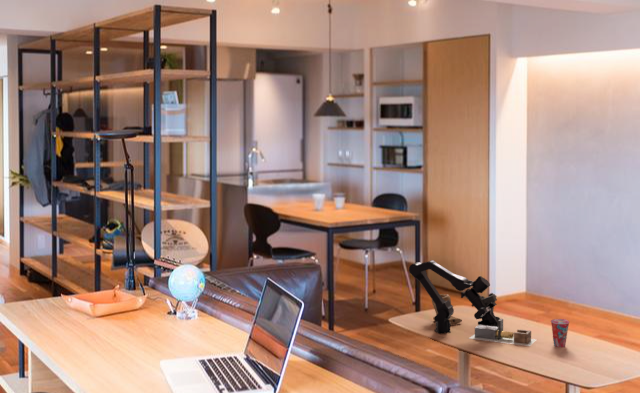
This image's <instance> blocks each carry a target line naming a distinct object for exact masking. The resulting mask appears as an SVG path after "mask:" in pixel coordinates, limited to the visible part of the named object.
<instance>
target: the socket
mask: <svg viewBox="0 0 640 393" xmlns="http://www.w3.org/2000/svg"><path fill="white" fill-rule="evenodd" d="M513 333H514V342H515V343H523V344H528V343H529V342H530V341H531V339H532V330H526V329H517V330H516V331H513Z"/></svg>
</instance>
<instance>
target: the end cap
mask: <svg viewBox="0 0 640 393" xmlns="http://www.w3.org/2000/svg"><path fill="white" fill-rule="evenodd" d="M482 316H483V315H482ZM482 316H480V317H479V319H478V321H477V326H478V325H485V326H494V327H498V323H497V324H495V323H492V322H490V321H488V320H486V319H483V318H481V317H482ZM495 317H496V319H497V321H498V320H500V319H501V318H500V317H499V316H496V315H495Z"/></svg>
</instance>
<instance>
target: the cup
mask: <svg viewBox="0 0 640 393" xmlns="http://www.w3.org/2000/svg"><path fill="white" fill-rule="evenodd" d="M550 322H551V331H552V340H553V346H554V347H557V348H565V347H566V344H567V338H568V331H569V324H570V321H569V320H568V319H566V318H554V319H551V320H550Z"/></svg>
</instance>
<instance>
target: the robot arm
mask: <svg viewBox="0 0 640 393" xmlns="http://www.w3.org/2000/svg"><path fill="white" fill-rule="evenodd" d="M428 270H430V271H432V272H434V273H435V274H437V275H438V276H440V277H442V279H445V280H447V281H448V282H449V283H450V284H451V286H452V287H454V288H455V289H456V290H457V291H459V292H460V298H461V299H463V298H466V299H467V300H468V301H469V303H471V307H472V308H473V307H474V308H475V309H476V310H477V311H475V313H474V314H473V315H474V316H473V317H474V319H476V320H480V319H479V317H480V316H482V315H483V316H482V317H481V318H483V319H486V320H488V321H490V322H492V323H495V324H497V323H498V321H497V319H496V317H497V316H496V315H495V313H494V309H495V308H494V307H496V306H497V303H496V301H498V299H497V295H496V294H494V293H493V292H491V293H488V296H486V297H485V296H482V295H480V294H483V293H484V292H485V291H486V290H487V289H488V288H489V287H490V286H491V284H490V282H489V280H487V279H486V278H485V277H483V276H481V275H479V276H478V277H477V278H476V279H475V280H474V281H473V280H469V278H467V277H465V276H462V275H459V274H455V273H453V272H452V271H450V270H449V269H447V268H445V267H444V266H442V265H440V264H439V263H437V262H436V261H435V260H429V261H425V262H419V261H417V262H414V263H411V264H410V265H409V268H408V271H409V274H411V276H412V277H413V278H414V279H416V280H417V281H419V282H420V284H421V286H422V287H423V288H424V290H425V291H426V293H427V294H428V295H429V297H430V299H431V301H432V300H433V301H434V303H435V305H436V309H437V312H438V314H437V315H436V314H435V316H433V318H434V319H435V320H434V319H433V320H434V321H435V329H434V332H436V333H437V334H440V335H441V334H449V333H452V332H451V325H450V322H449V320H448V319H450V316H453V315H454V312H455V311H454V310H455V309H454V305H452V302H451V303H450V301H449V300H448V301H445V300H444V299H443V298H442V297H441V295H440V292H439V291H438V290H437V288H436V287H435V285H434V284H433V282H432V281H431V280H430V278H429V277H428V274H427V271H428ZM495 316H496V317H495Z"/></svg>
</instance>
